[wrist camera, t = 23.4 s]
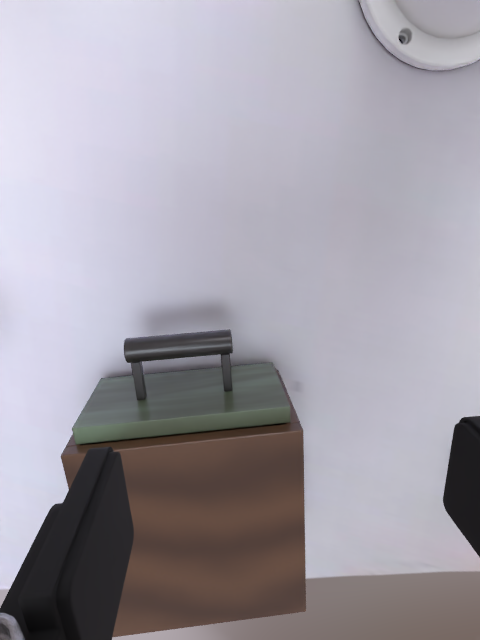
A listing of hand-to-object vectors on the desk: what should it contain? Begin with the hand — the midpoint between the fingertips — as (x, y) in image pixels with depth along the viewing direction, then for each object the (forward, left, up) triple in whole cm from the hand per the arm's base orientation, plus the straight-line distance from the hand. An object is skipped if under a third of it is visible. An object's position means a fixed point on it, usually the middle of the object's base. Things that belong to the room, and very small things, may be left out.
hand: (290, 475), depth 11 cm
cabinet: (+11, -10, -20) cm, 25 cm away
